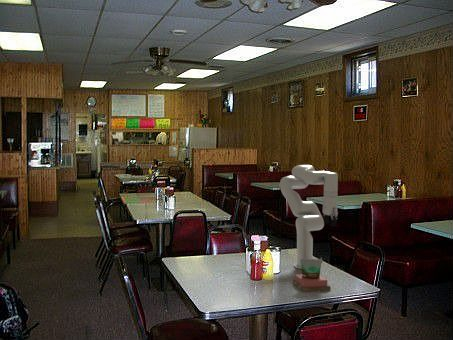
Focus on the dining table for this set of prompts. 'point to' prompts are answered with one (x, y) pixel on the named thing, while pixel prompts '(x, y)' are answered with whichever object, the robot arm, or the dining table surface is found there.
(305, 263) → the food container
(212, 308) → the dining table surface
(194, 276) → the dining table surface
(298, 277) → the pink square slab
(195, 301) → the dining table surface
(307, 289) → the walnut slab
